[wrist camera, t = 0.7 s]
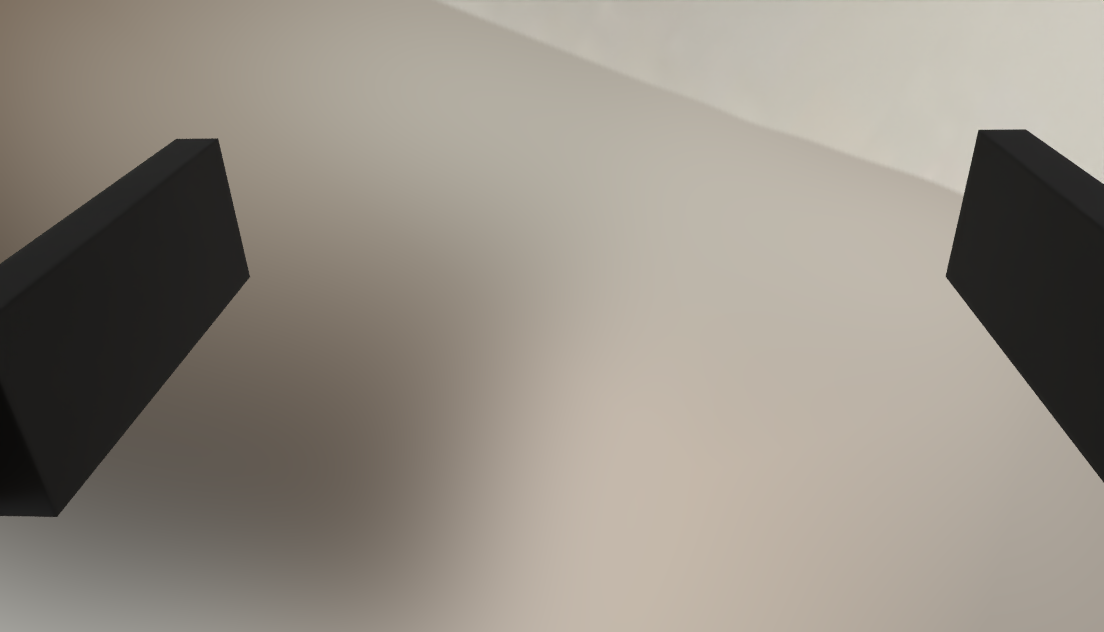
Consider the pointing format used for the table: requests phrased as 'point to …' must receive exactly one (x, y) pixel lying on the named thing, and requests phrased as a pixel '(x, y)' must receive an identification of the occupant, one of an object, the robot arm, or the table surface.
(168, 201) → the robot arm
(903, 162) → the table surface
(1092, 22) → the table surface
